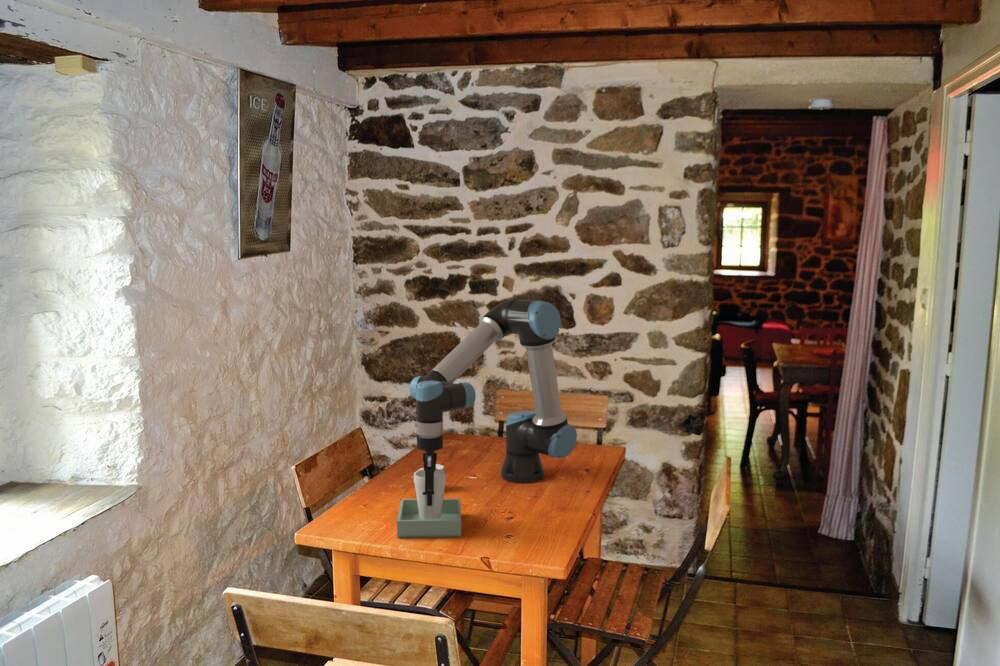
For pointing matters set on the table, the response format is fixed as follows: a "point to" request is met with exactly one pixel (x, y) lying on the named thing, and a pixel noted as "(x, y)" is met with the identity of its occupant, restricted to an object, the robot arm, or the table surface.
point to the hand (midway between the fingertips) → (430, 509)
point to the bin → (419, 528)
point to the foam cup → (438, 492)
